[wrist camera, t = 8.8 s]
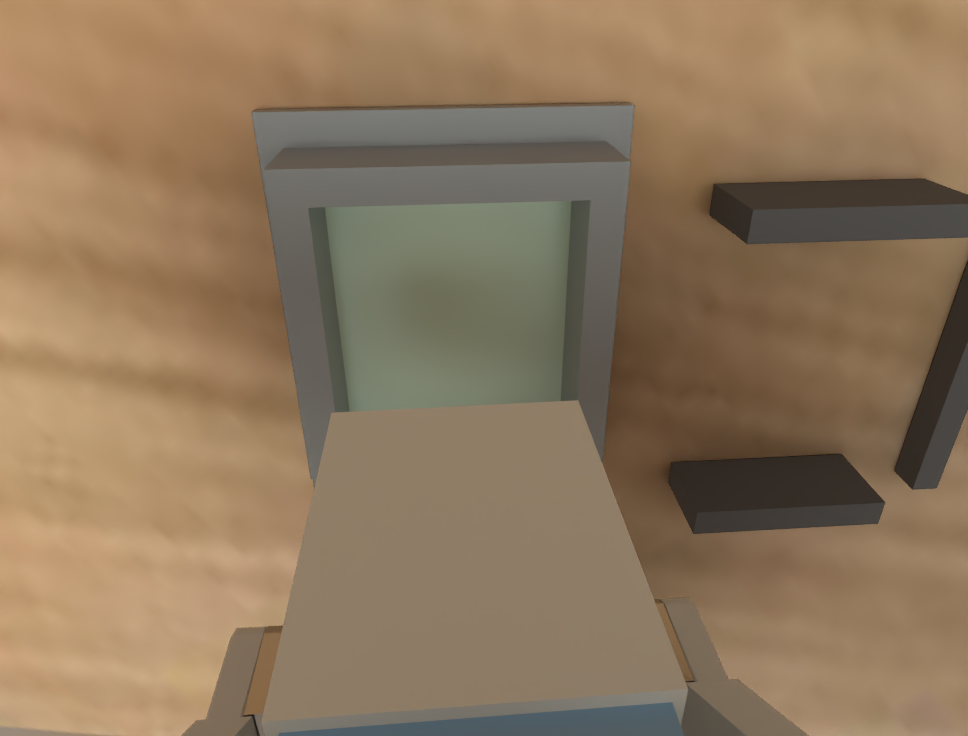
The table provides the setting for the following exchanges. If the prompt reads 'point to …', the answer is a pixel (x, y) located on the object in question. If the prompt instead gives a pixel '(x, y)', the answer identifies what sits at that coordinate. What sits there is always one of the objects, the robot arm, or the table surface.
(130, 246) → the table surface
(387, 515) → the plug
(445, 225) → the grey shallow square tray
